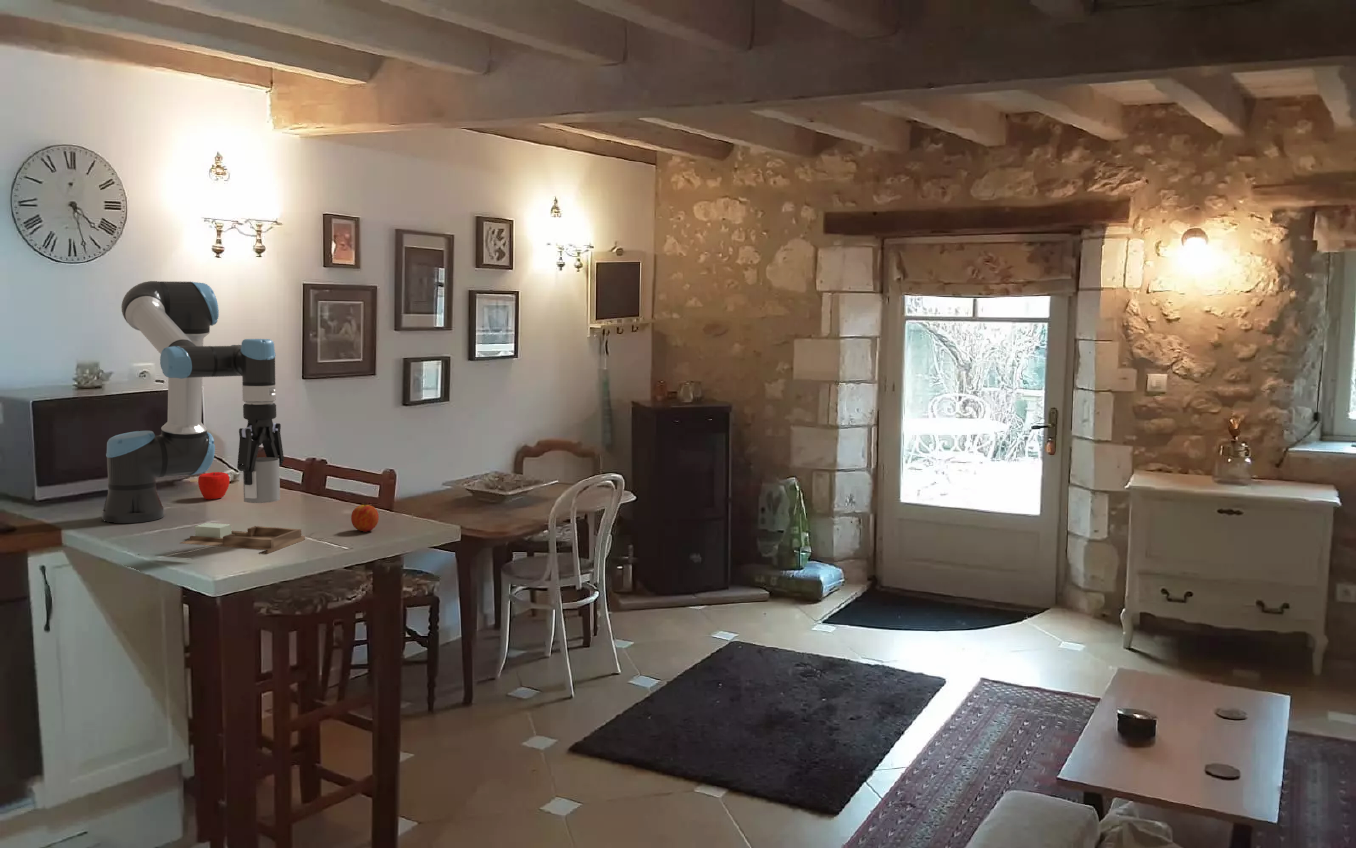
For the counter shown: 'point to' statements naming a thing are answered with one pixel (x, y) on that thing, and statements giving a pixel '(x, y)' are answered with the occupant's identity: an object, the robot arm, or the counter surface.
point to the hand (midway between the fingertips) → (262, 494)
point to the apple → (213, 484)
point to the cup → (266, 480)
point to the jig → (253, 539)
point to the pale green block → (213, 530)
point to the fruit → (364, 517)
